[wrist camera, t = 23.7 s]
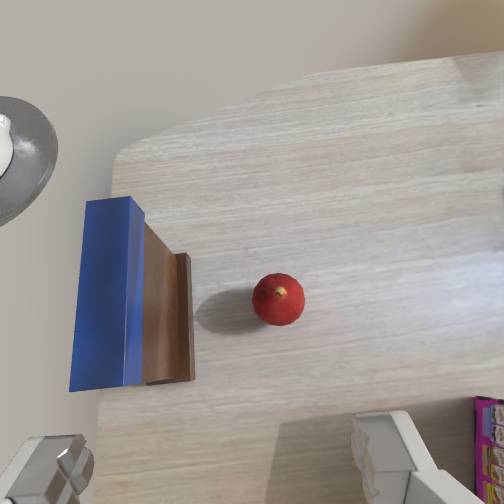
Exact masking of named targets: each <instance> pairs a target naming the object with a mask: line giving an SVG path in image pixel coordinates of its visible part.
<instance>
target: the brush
mask: <svg viewBox="0 0 504 504" xmlns="http://www.w3.org/2000/svg"><path fill="white" fill-rule="evenodd" d="M144 218H145V213H144V212H143V211H142V209H141V208H140V207H139V206H138V205H137V203H136V202H135V201H134V200H133V199H132V197H131V196H126V197H118V198H110V199H102V200H94V201H87V202H86V210H85V221H84V232H83V244H82V255H81V265H80V277H79V287H78V288H79V289H78V298H77V310H76V320H75V331H74V342H73V354H72V365H71V376H70V387H69V392H77V391H86V390H94V389H103V388H112V387H121V386H128V385H134V384H141V383H145V382H146V385H147V386H149V385H158V384H167V383H175V382H184V381H192V380H195V359H194V333H193V308H192V283H191V258H190V257H189V255H188V254H187V253H180V254H173V253H172V252H171V251H170V250H169V249H168V248H167V246H166V245H165V244H164V243H163V242H162V241H161V240H160V238H159V237H158V236H157V235H156V234H155V233H154V232H153V231H152V229H151V228H150V227H149V226H148V225H147V224H146V223H145V222H144Z"/></svg>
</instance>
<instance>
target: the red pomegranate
mask: <svg viewBox="0 0 504 504" xmlns="http://www.w3.org/2000/svg"><path fill="white" fill-rule="evenodd" d="M252 302H253V306H254V310H255V312H256V313H257V315H258V316H259V317H260V318H261V319H262V320H263V321H265V322H267V323H268V324H270V325H276V326H283V325H288V324H291V323H292V322H294V321H295V320H296V319H298V318H299V317H300V315H301V313H302V311H303V309H304V303H305V297H304V293H303V288H302V287H301V285H300V284H299V283H298V281H297V280H296V279H294V278H292V277H291V276H289V275H286V274H281V273H276V274H269V275H268V276H266V277H264V278H262V279H261V280H260V281H259V283H258V284H257V286H256V287H255V288H254V292H253V297H252Z"/></svg>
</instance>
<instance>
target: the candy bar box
mask: <svg viewBox="0 0 504 504" xmlns="http://www.w3.org/2000/svg"><path fill="white" fill-rule="evenodd" d="M475 496H477V497H478V498H479V499H480V500H481V501H483V502H484V503H485V504H504V400H502V399H495V398H489V397H483V396H475Z"/></svg>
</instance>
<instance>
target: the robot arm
mask: <svg viewBox="0 0 504 504" xmlns="http://www.w3.org/2000/svg"><path fill="white" fill-rule="evenodd" d="M10 126H11V121H10V119H8V118H7V117H6V116H5V115H2V114H0V176H1V175H2V174H3V173H4V172H5V170H6V169H7V167H8V165H9V163H10V161H11V158H12V154H13V144H12V140H11V137H10V134H9V131H10ZM351 423H352V426H353V429H354V430H353V431H352V432H351V448H352V454H353V458H354V461H355V465H356V468H357V469H358V470H359V471H360V472H361V473H362V474H363V476H362V488H363V491H364V494H365V498H366V501H367V504H485V503H484V502H483V501H481V500H480V499H479V498H478V497H477V496H475V495H474V494H473V493H472V492H471V491H469V490H468V489H467V488H466V487H464V486H463V485H462V484H461V483H460V482H458V481H457V480H456V479H455V478H454V477H452V476H451V475H450V474H449V473H448V472H446V471H445V470H444V469H441V470H438V468H437V467H436V465H435V463H434V461H433V459H432V457H431V455H430V453H429V452H428V450H427V448H426V446H425V444H424V442H423V440H422V438H421V437H420V435H419V433H418V431H417V429H416V427H415V425H414V423H413V422H412V420H411V418H410V416H409V414H408V413H407V412H406V411H403V410H401V411H391V412H386V411H383V412H372V413H361V414H353V416H352V421H351ZM85 443H86V440H85V438H84V436H83V435H82V434H79V435H63V436H62V435H61V436H41V437H30V438H29V439H27V440H26V441H25V442H24V443H23V444H22V446H21V447H20V448H19V450H18V451H17V453H16V454H15V456H14V457H13V459H12V460H11V462H10V463H9V465H8V466H7V468H6V469H5V471H4V472H3V474H2V475H1V476H0V504H80V500H79V494H80V493H81V492H82V491H83V490H84V489H85V488H86V487H87V486H88V484H89V481H90V479H91V477H92V473H93V468H94V457H93V454H92V452H91V450H89V449H87V448H86V447H84V445H85Z"/></svg>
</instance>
